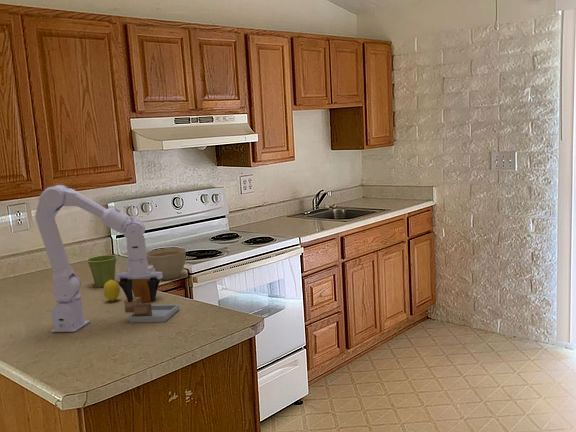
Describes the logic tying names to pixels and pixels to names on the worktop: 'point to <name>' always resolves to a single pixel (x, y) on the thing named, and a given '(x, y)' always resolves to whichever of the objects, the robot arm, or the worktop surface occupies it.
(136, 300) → the walnut block
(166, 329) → the worktop surface
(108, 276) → the plant pot
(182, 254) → the planter bowl
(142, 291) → the disposable coffee cup
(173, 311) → the tray
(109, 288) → the lemon
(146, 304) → the walnut block
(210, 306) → the worktop surface
